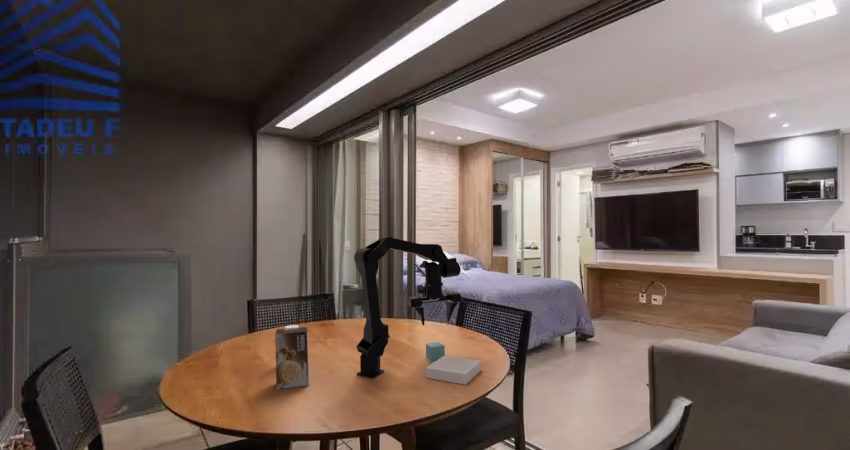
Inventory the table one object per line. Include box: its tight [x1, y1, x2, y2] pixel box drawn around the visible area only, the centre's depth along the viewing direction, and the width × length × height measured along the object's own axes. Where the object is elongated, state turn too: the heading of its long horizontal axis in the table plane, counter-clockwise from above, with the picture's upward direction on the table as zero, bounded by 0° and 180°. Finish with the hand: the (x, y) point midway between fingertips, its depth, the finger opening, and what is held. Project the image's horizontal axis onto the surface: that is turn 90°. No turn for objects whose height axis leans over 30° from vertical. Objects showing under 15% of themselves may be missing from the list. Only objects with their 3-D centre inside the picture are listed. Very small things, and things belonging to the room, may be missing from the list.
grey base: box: [425, 355, 482, 385], centre depth 123 cm, size 13×13×3 cm
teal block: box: [425, 341, 446, 363], centre depth 139 cm, size 5×5×5 cm
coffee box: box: [274, 326, 310, 390], centre depth 118 cm, size 9×6×16 cm
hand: (435, 323), depth 139 cm, fingers open, 9 cm apart
